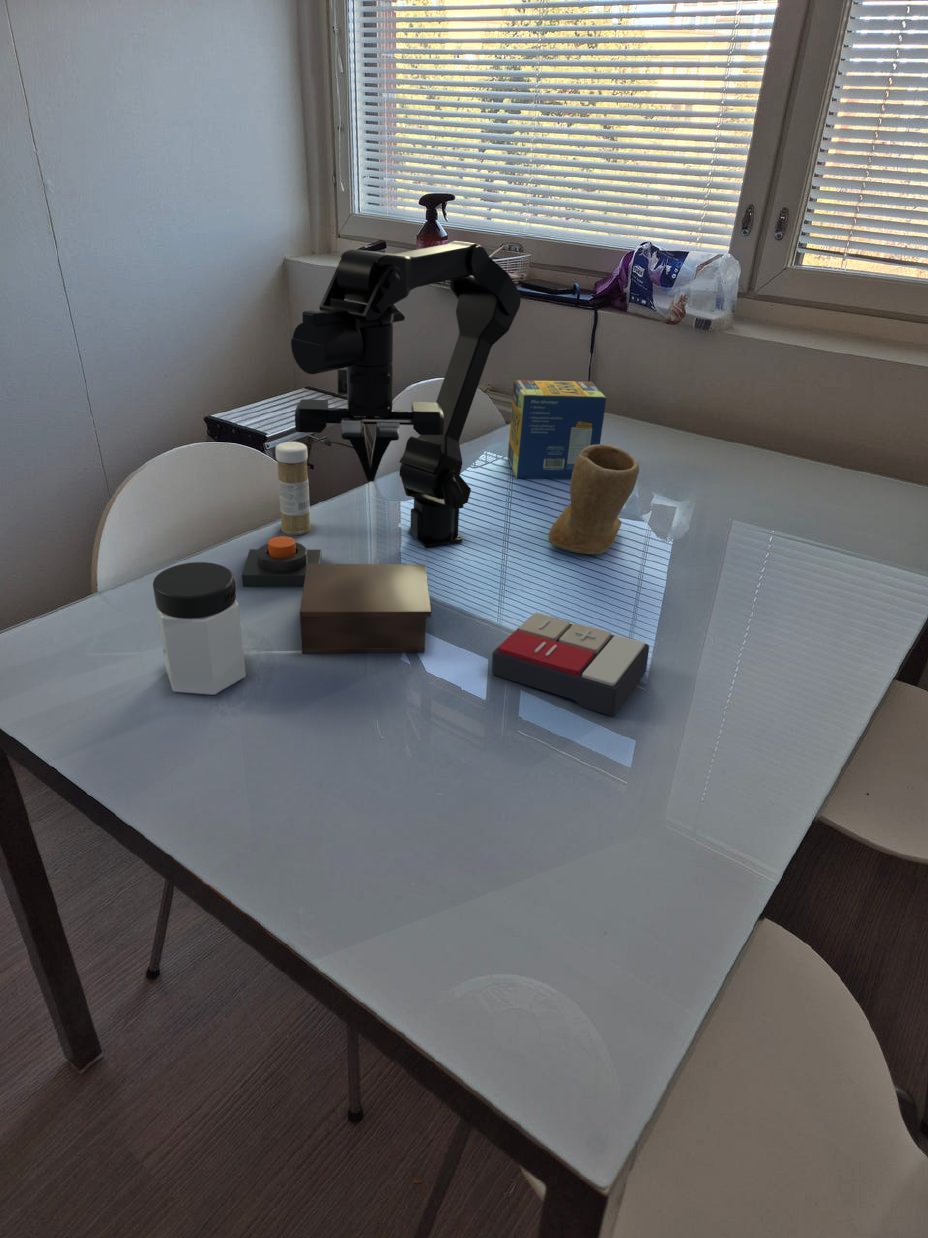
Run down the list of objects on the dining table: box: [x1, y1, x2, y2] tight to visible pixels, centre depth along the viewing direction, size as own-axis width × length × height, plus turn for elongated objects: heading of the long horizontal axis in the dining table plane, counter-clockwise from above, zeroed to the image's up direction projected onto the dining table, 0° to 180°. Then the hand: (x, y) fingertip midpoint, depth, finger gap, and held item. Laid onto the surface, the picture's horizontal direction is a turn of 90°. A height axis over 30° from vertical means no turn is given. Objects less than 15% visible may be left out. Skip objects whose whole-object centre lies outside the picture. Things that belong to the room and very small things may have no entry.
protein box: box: [507, 379, 607, 480], centre depth 152 cm, size 10×15×16 cm
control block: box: [241, 542, 323, 588], centre depth 112 cm, size 10×8×4 cm
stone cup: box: [547, 443, 640, 555], centre depth 124 cm, size 15×12×15 cm
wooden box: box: [299, 616, 427, 655], centre depth 101 cm, size 14×12×5 cm
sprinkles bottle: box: [274, 441, 312, 536], centre depth 122 cm, size 5×5×13 cm
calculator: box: [491, 612, 650, 717], centre depth 94 cm, size 11×4×15 cm
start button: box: [267, 535, 296, 558], centre depth 111 cm, size 4×4×2 cm
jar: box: [152, 561, 247, 696], centre depth 88 cm, size 9×8×12 cm
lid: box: [299, 563, 432, 618], centre depth 99 cm, size 15×12×1 cm
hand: (370, 480), depth 110 cm, fingers closed
